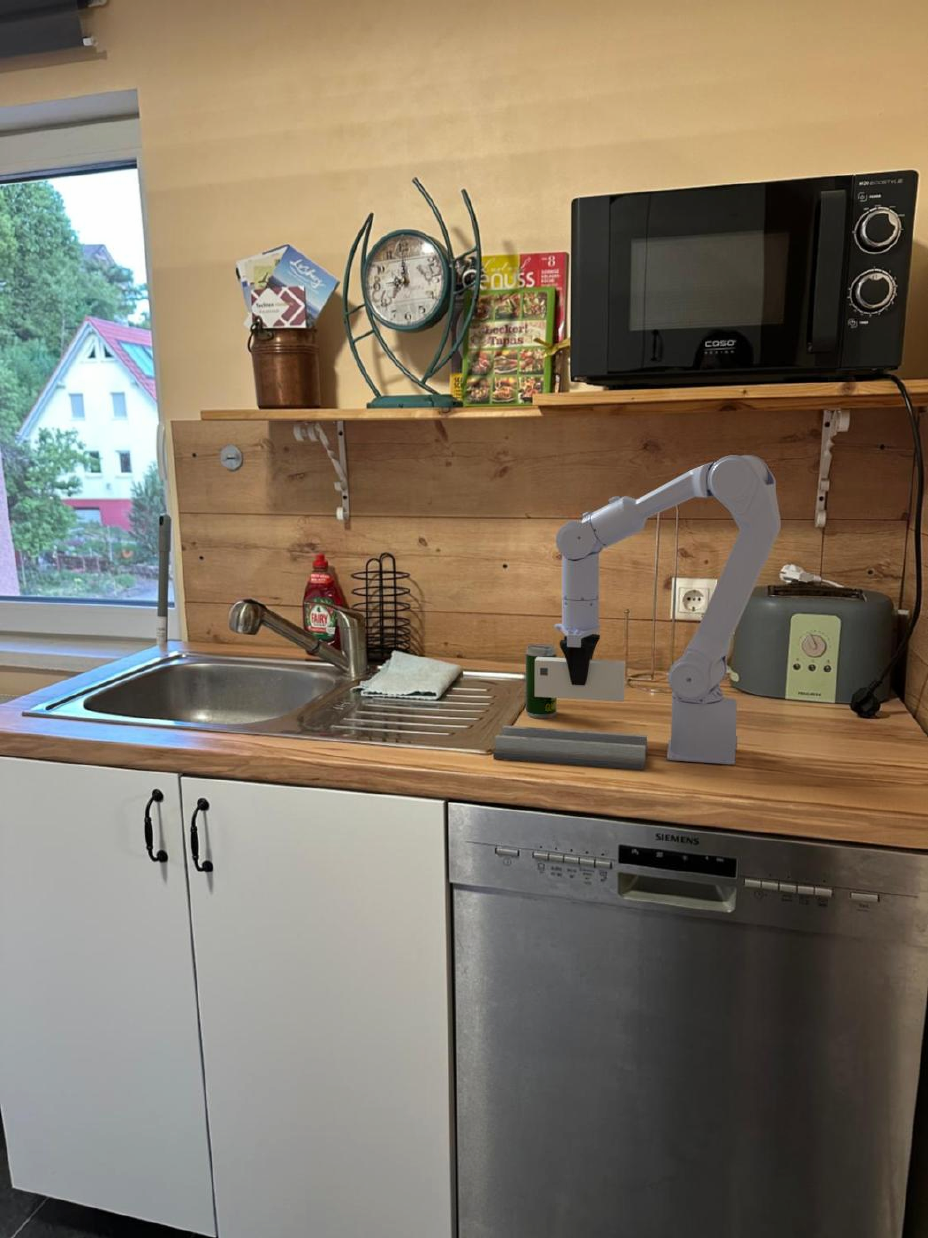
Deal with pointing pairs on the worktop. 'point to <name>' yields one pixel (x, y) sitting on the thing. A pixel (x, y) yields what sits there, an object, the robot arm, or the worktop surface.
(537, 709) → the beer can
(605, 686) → the door panel
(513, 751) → the track
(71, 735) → the worktop surface
